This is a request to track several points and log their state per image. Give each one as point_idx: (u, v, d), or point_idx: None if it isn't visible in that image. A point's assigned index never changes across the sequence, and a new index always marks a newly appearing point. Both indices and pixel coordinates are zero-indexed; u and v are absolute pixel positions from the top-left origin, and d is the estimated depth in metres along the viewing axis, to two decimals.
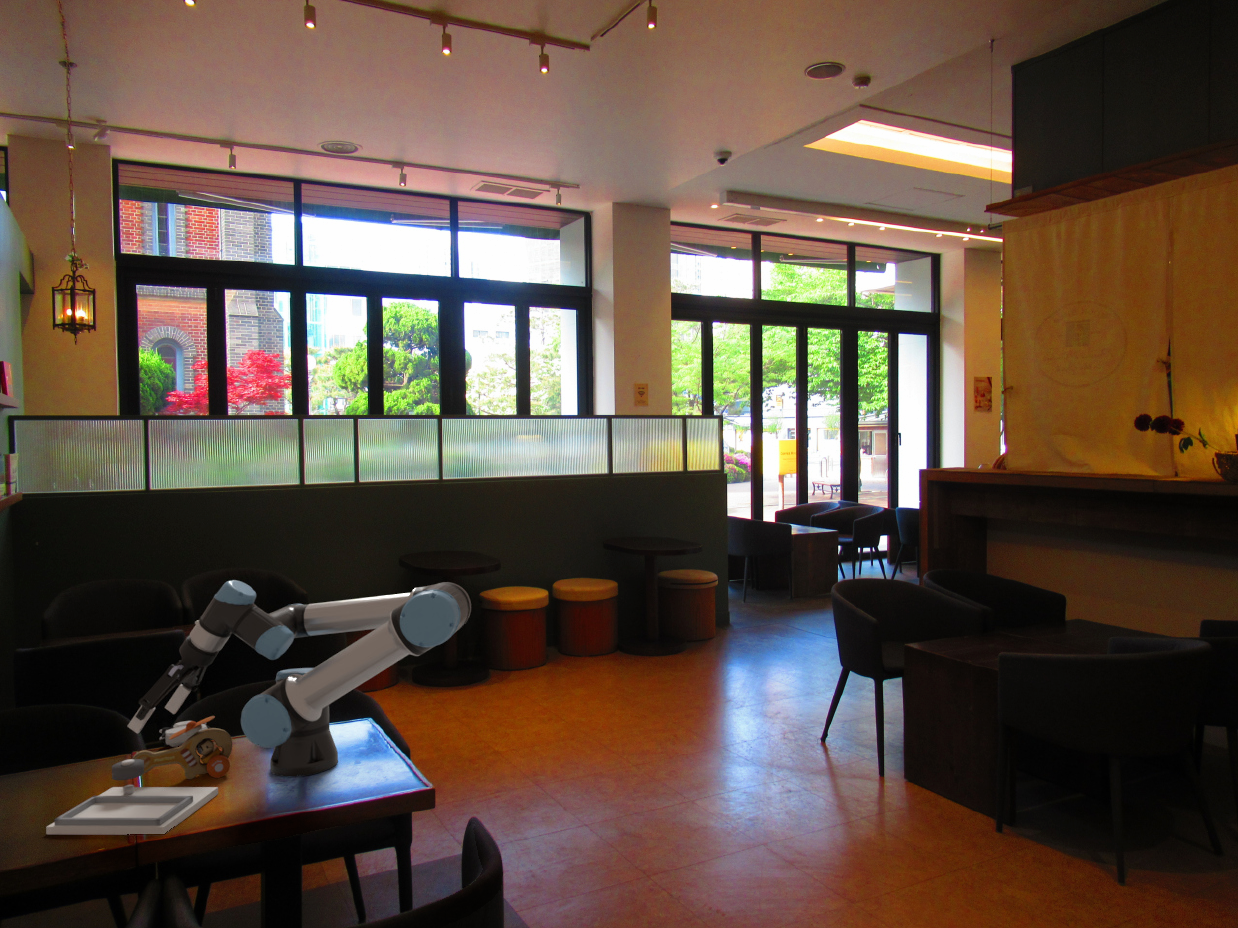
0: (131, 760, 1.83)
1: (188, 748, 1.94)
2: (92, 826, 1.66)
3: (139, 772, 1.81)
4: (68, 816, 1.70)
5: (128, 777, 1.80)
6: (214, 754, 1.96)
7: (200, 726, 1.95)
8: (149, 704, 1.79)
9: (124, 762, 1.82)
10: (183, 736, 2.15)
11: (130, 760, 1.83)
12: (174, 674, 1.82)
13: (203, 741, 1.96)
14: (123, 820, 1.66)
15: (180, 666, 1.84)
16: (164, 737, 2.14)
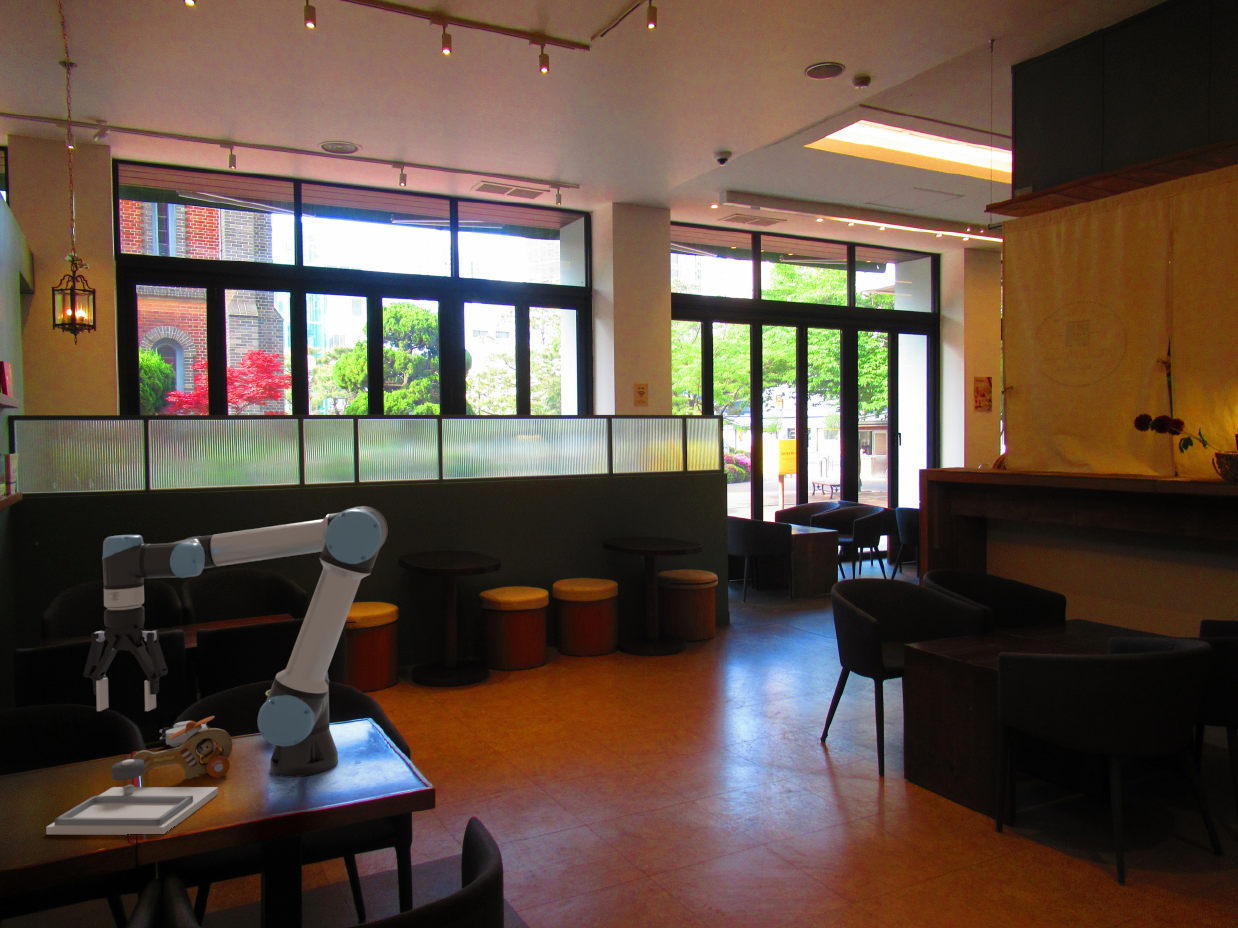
0: (131, 760, 1.83)
1: (188, 748, 1.94)
2: (92, 826, 1.66)
3: (139, 772, 1.81)
4: (68, 816, 1.70)
5: (128, 777, 1.80)
6: (214, 754, 1.96)
7: (200, 726, 1.95)
8: (166, 668, 1.83)
9: (124, 762, 1.82)
10: (183, 737, 2.15)
11: (130, 760, 1.83)
12: (157, 636, 1.82)
13: (203, 741, 1.96)
14: (123, 820, 1.66)
15: (144, 631, 1.82)
16: (164, 737, 2.14)
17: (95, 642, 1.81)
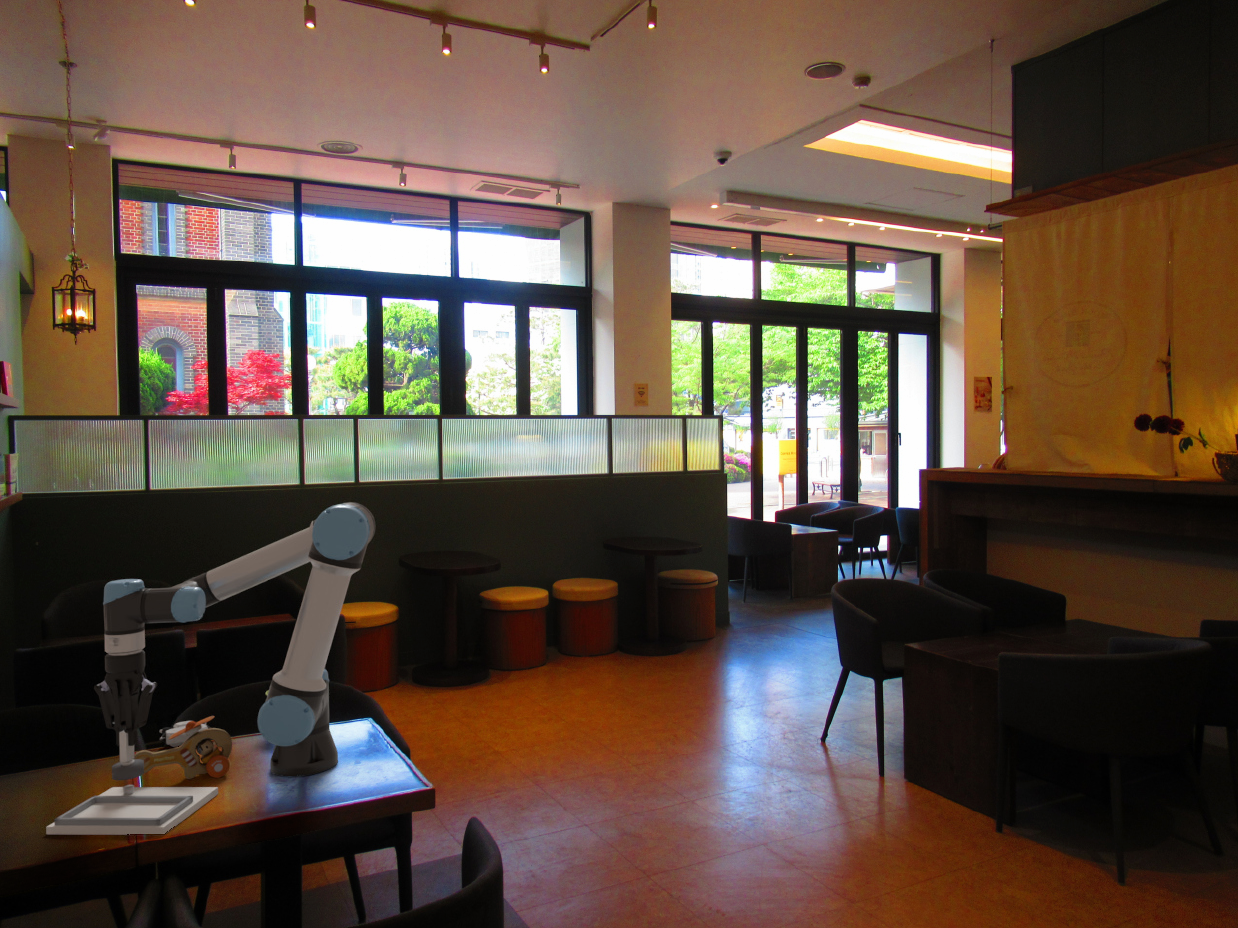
0: (131, 760, 1.83)
1: (187, 748, 1.94)
2: (92, 826, 1.66)
3: (139, 772, 1.81)
4: (68, 816, 1.70)
5: (128, 777, 1.80)
6: (214, 754, 1.96)
7: (200, 726, 1.95)
8: None
9: None
10: (183, 736, 2.15)
11: (130, 760, 1.83)
12: (153, 689, 1.83)
13: (203, 741, 1.96)
14: (123, 820, 1.66)
15: (145, 679, 1.82)
16: (165, 737, 2.14)
17: (101, 692, 1.81)
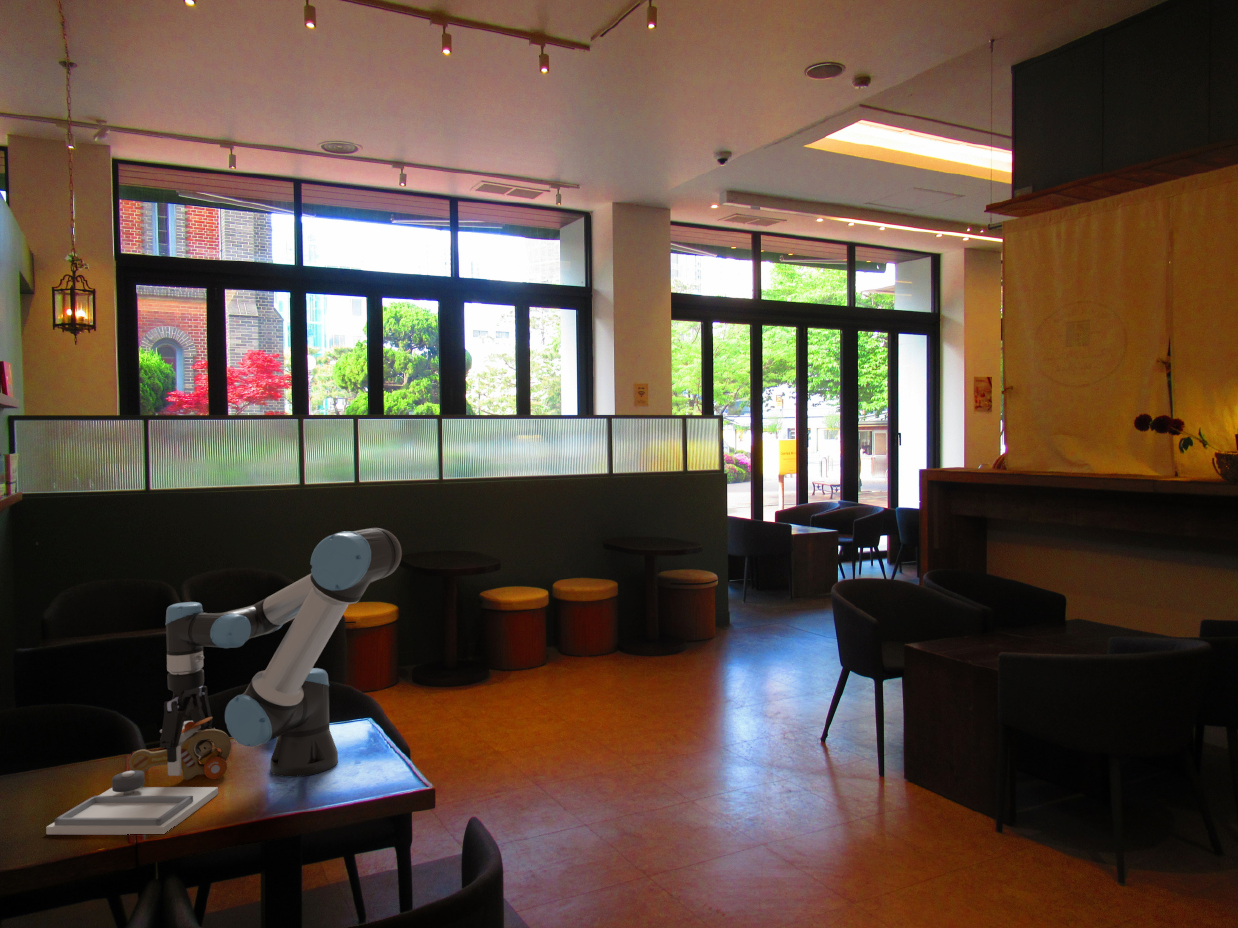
0: (131, 771, 1.83)
1: (186, 748, 1.93)
2: (92, 826, 1.66)
3: (139, 784, 1.82)
4: (68, 816, 1.70)
5: (128, 789, 1.80)
6: (212, 755, 1.95)
7: (198, 727, 1.95)
8: None
9: (124, 774, 1.82)
10: (184, 736, 2.15)
11: (130, 771, 1.83)
12: None
13: (201, 742, 1.95)
14: (123, 820, 1.66)
15: None
16: None
17: (177, 710, 1.89)
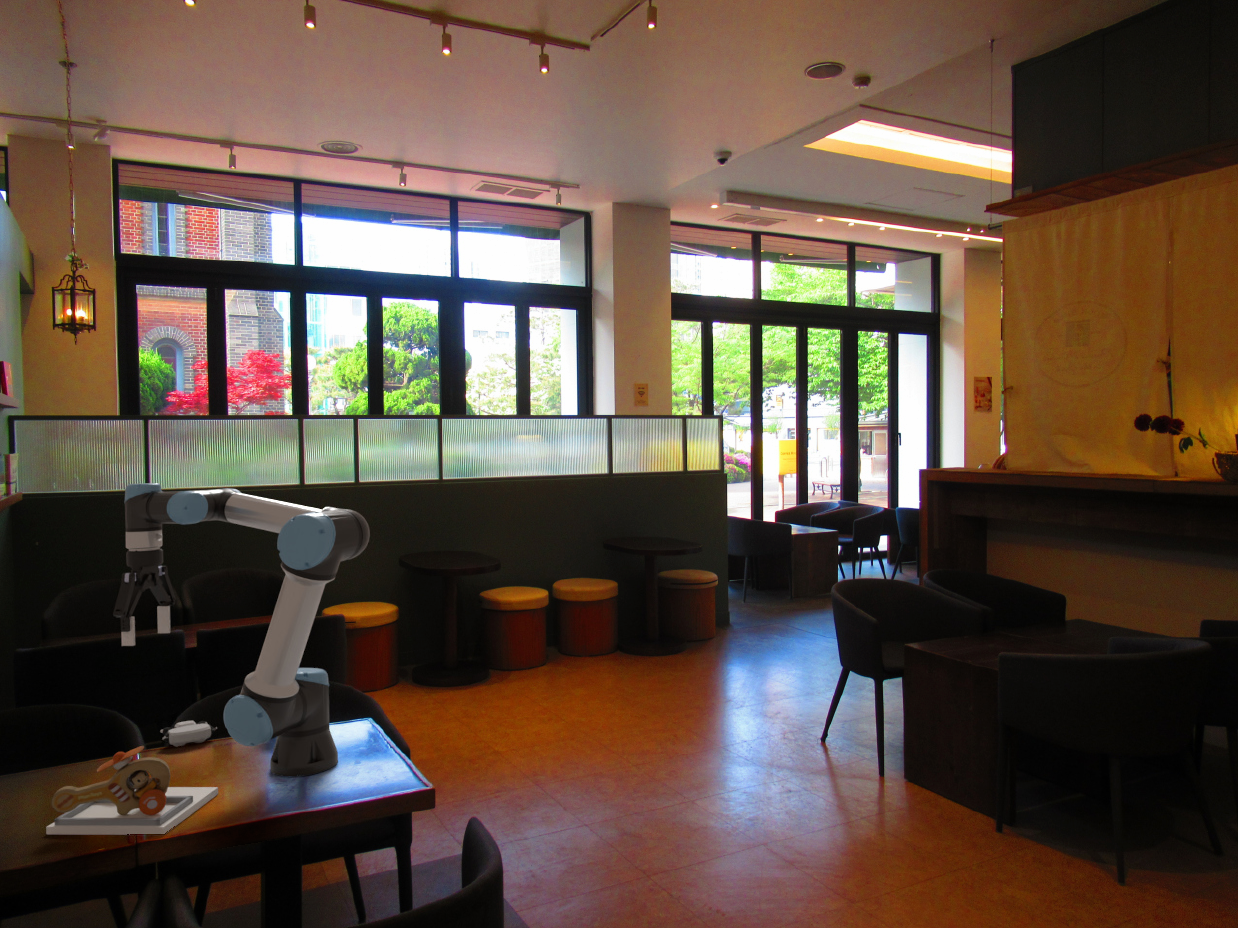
0: None
1: (117, 782, 1.69)
2: (92, 826, 1.66)
3: None
4: (68, 816, 1.70)
5: None
6: (148, 788, 1.71)
7: (129, 758, 1.70)
8: None
9: None
10: (187, 736, 2.15)
11: None
12: None
13: (134, 774, 1.71)
14: (123, 820, 1.66)
15: None
16: (167, 737, 2.15)
17: (134, 582, 1.92)
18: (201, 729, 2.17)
